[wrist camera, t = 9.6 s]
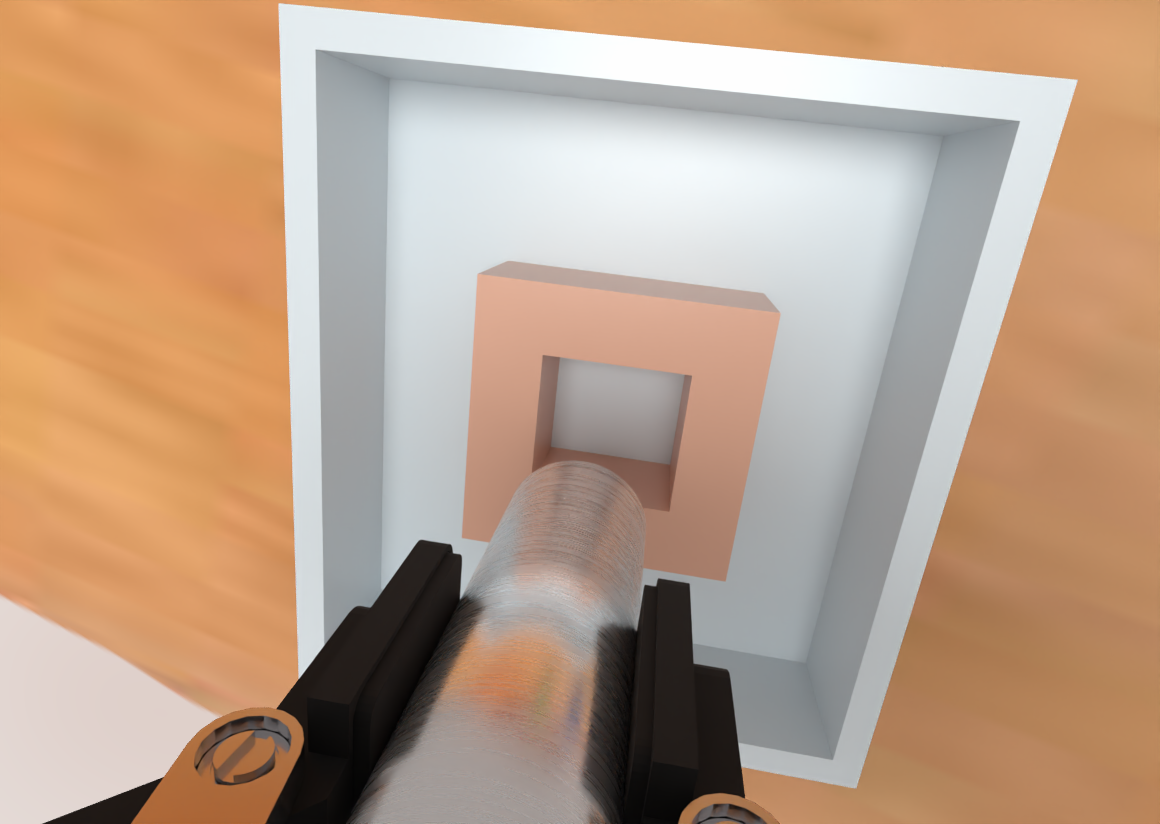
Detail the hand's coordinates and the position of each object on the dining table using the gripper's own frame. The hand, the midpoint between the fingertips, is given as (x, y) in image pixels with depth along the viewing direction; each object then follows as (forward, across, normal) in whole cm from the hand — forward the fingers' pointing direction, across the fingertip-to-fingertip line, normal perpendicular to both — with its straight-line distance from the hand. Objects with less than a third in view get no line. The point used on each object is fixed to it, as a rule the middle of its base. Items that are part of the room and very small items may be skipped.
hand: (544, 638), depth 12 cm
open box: (+15, 0, 0) cm, 15 cm away
